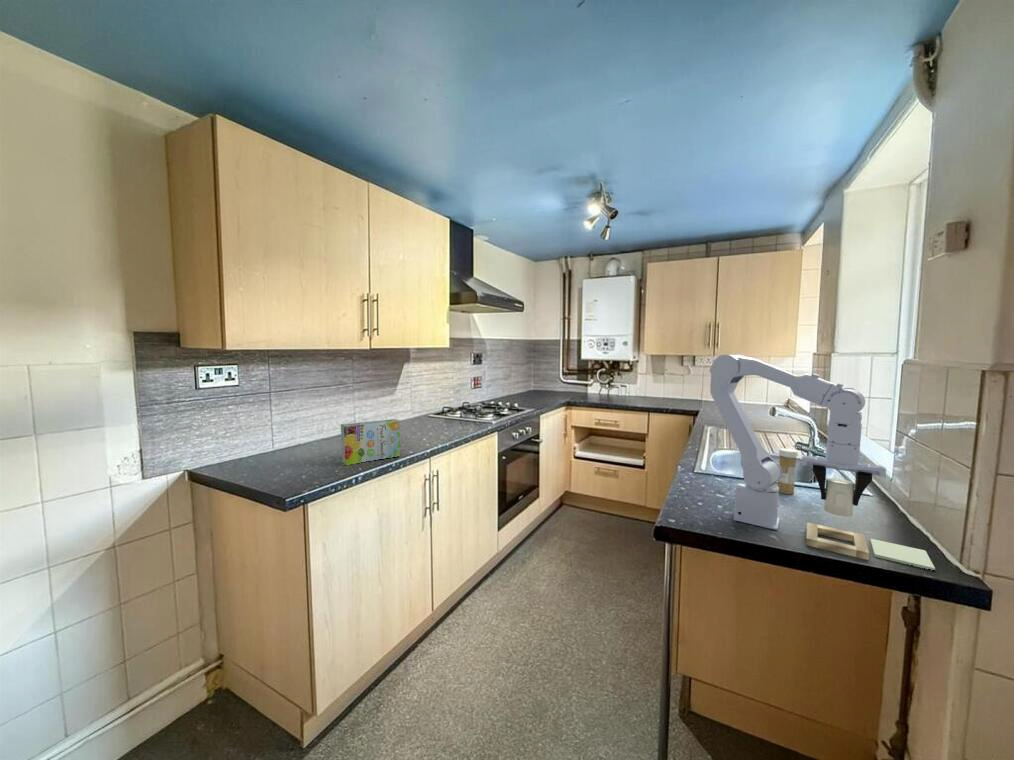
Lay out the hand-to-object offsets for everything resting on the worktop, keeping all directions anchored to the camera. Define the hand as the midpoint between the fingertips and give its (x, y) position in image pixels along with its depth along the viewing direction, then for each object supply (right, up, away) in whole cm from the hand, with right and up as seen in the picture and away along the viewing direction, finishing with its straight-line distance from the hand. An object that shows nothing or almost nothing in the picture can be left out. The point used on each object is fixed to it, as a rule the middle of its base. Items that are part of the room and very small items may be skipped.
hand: (838, 501), depth 92 cm
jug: (0, -3, 0) cm, 2 cm away
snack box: (-128, -4, +65) cm, 144 cm away
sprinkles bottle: (+11, -8, +34) cm, 36 cm away
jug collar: (0, -10, +1) cm, 10 cm away
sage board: (+10, -10, -4) cm, 15 cm away
